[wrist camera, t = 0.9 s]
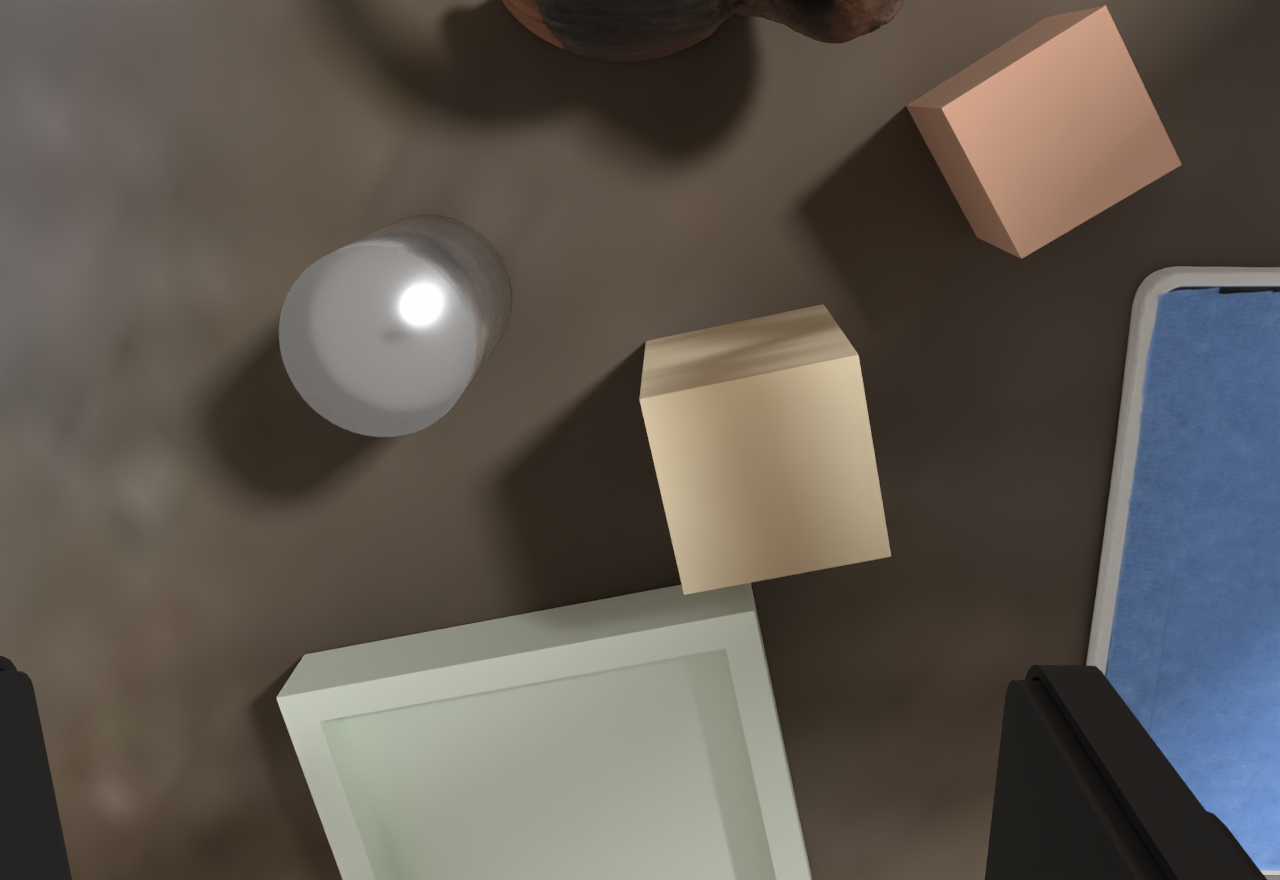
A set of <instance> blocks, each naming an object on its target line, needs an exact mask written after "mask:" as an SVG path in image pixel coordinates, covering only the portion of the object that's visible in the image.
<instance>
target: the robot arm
mask: <svg viewBox="0 0 1280 880" xmlns="http://www.w3.org/2000/svg"><path fill="white" fill-rule="evenodd" d="M0 880H72V878H71V873H70V868H69V863H68V858H67V853H66V848H65V843H64V838H63V833H62V828H61V823H60V818H59V813H58V808H57V803H56V798H55V793H54V788H53V783H52V778H51V773H50V768H49V763H48V758H47V753H46V748H45V743H44V738H43V733H42V728H41V723H40V718H39V713H38V708H37V703H36V698H35V693H34V688H33V685H32V682H31V679H30V678H29V677H28V675H27V674H25V673H23V672H21V671H17V670H16V667H15V666H14V665H13V663H12V662H11V661H10V660H9V659H7V658H5V657H3V656H0ZM985 880H1267V879H1266V878H1265V876H1264V875H1263V874H1262V872H1261V871H1260V870H1259V868H1258V867H1257V866H1256V864H1255V863H1254V862H1253V861H1252V859H1251V858H1250V857H1249V855H1248V854H1247V853H1246V851H1245V850H1244V849H1243V847H1242V846H1241V845H1240V843H1239V842H1238V841H1237V839H1236V838H1235V837H1234V836H1233V834H1232V833H1231V832H1230V830H1229V829H1228V828H1227V826H1226V825H1225V824H1224V823H1223V822H1222V821H1221V820H1220V819H1219V818H1218V817H1217V816H1216V815H1215V814H1214V813H1211V812H1208V811H1206V810H1205V809H1204V807H1203V806H1202V805H1201V803H1200V802H1199V801H1198V799H1197V798H1196V797H1195V795H1194V794H1193V793H1192V791H1191V790H1190V789H1189V787H1188V786H1187V785H1186V783H1185V782H1184V781H1183V779H1182V778H1181V777H1180V775H1179V774H1178V773H1177V771H1176V770H1175V769H1174V767H1173V766H1172V765H1171V763H1170V762H1169V761H1168V759H1167V758H1166V757H1165V755H1164V754H1163V753H1162V751H1161V750H1160V749H1159V747H1158V746H1157V745H1156V743H1155V742H1154V741H1153V739H1152V738H1151V737H1150V735H1149V734H1148V733H1147V731H1146V730H1145V729H1144V727H1143V726H1142V725H1141V723H1140V722H1139V721H1138V719H1137V718H1136V717H1135V715H1134V714H1133V713H1132V711H1131V710H1130V709H1129V707H1128V706H1127V705H1126V703H1125V702H1124V701H1123V699H1122V698H1121V697H1120V695H1119V694H1118V693H1117V691H1116V690H1115V689H1114V687H1113V686H1112V685H1111V683H1110V682H1109V681H1108V679H1107V678H1106V677H1105V675H1104V674H1103V673H1102V671H1101V670H1100V669H1098V668H1097V667H1096V666H1082V665H1033V666H1032V667H1031V668H1030V669H1029V671H1028V673H1027V676H1026V679H1025V680H1012V681H1011V682H1010V683H1009V686H1008V688H1007V692H1006V698H1005V707H1004V716H1003V725H1002V733H1001V742H1000V751H999V760H998V769H997V778H996V786H995V795H994V804H993V813H992V822H991V831H990V839H989V848H988V857H987V866H986V875H985Z"/></svg>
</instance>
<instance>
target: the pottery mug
mask: <svg viewBox="0 0 1280 880" xmlns="http://www.w3.org/2000/svg"><path fill="white" fill-rule="evenodd" d="M502 1H503V3H504V5H505V7H506V8H507V10H508V11H510V13H511V14H512V15H513V16H514V17H515V18H516V19H517V20H518V21H519V22H520V23H521V24H522V25H524V26H525V27H526V28H527V29H528V30H530V31H531V32H533V33H534V34H535V35H537V36H538V37H540V38H542V39H543V40H545V41H547V42H549V43H551V44H553V45H555V46H557V47H559V48H562V49H565V50H567V51H568V52H570V53H572V54H575V55H578V56H582V57H586V58H591V59H597V60H601V61H605V62H642V61H649V60H656V59H661V58H664V57H668V56H671V55H673V54H675V53H677V52H679V51H681V50H683V49H686V48H688V47H690V46H693V45H694V44H696V43H698V42H700V41H702V40H704V39H705V38H707V37H708V36H710V35H712V34H713V33H714V32H715V30H716V29H717V27H718V26H719V25H720V24H722V23H723V22H724V21H726V20H727V18H729V17H731V16H732V15H733V13H736V14H737V15H740V16H758V17H762V18H766V19H769V20H773V21H776V22H778V23H782V24H784V25H787V26H788V27H789V28H791V29H792V30H794V31H796V32H798V33H801V34H803V35H805V36H807V37H810V38H812V39H815V40H818V41H821V42H826V43H844V42H847V41H850V40H852V39H854V38H856V37H858V36H862V35H865V34H867V33H871V32H873V31H875V30H876V29H878V28H880V27H881V26H882V25H884V24H887V23H888V22H890V21H891V20H892V19H893V18H894V16H895V15H896V13H897V12H898V11H899V10H900V8H901V6H902V4H903V2H904V0H502Z"/></svg>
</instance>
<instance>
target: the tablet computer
mask: <svg viewBox="0 0 1280 880" xmlns="http://www.w3.org/2000/svg"><path fill="white" fill-rule="evenodd" d="M1086 666H1096V667H1097V668H1098V669H1100V670H1101V671H1102V673H1103V674H1104V675H1105V677H1106V678H1107V679H1108V681H1109V682H1110V683H1111V685H1112V686H1113V687H1114V689H1115V690H1116V691H1117V693H1118V694H1119V695H1120V697H1121V698H1122V699H1123V701H1124V702H1125V703H1126V705H1127V706H1128V707H1129V709H1130V710H1131V711H1132V713H1133V714H1134V715H1135V717H1136V718H1137V719H1138V721H1139V722H1140V723H1141V725H1142V726H1143V727H1144V729H1145V730H1146V731H1147V733H1148V734H1149V735H1150V737H1151V738H1152V739H1153V741H1154V742H1155V743H1156V745H1157V746H1158V747H1159V749H1160V750H1161V751H1162V753H1163V754H1164V755H1165V757H1166V758H1167V759H1168V761H1169V762H1170V763H1171V765H1172V766H1173V767H1174V769H1175V770H1176V771H1177V773H1178V774H1179V775H1180V777H1181V778H1182V779H1183V781H1184V782H1185V783H1186V785H1187V786H1188V787H1189V789H1190V790H1191V791H1192V793H1193V794H1194V795H1195V797H1196V798H1197V799H1198V801H1199V802H1200V803H1201V805H1202V806H1203V807H1204V809H1205V810H1206V811H1208V812H1211V813H1214V814H1215V815H1216V816H1217V817H1218V818H1219V819H1220V820H1221V821H1222V822H1223V823H1224V824H1225V825H1226V826H1227V828H1228V829H1229V830H1230V832H1231V833H1232V834H1233V836H1234V837H1235V838H1236V839H1237V841H1238V842H1239V843H1240V845H1241V846H1242V847H1243V849H1244V850H1245V851H1246V853H1247V854H1248V855H1249V857H1250V858H1251V859H1252V861H1253V862H1254V863H1255V864H1256V866H1257V867H1258V868H1259V870H1260V871H1261V872H1262V874H1264V875H1280V267H1190V266H1175V267H1168V268H1164V269H1161V270H1158V271H1155V272H1153V273H1151V274H1150V275H1148V276H1147V277H1146V278H1145V279H1144V280H1143V281H1142V283H1141V284H1140V286H1139V287H1138V289H1137V291H1136V293H1135V296H1134V300H1133V303H1132V311H1131V319H1130V327H1129V336H1128V345H1127V353H1126V362H1125V370H1124V379H1123V388H1122V397H1121V405H1120V414H1119V422H1118V430H1117V438H1116V447H1115V454H1114V462H1113V469H1112V477H1111V484H1110V492H1109V499H1108V507H1107V515H1106V522H1105V530H1104V538H1103V545H1102V553H1101V561H1100V568H1099V576H1098V583H1097V591H1096V598H1095V605H1094V612H1093V619H1092V625H1091V632H1090V639H1089V647H1088V654H1087V662H1086Z"/></svg>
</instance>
